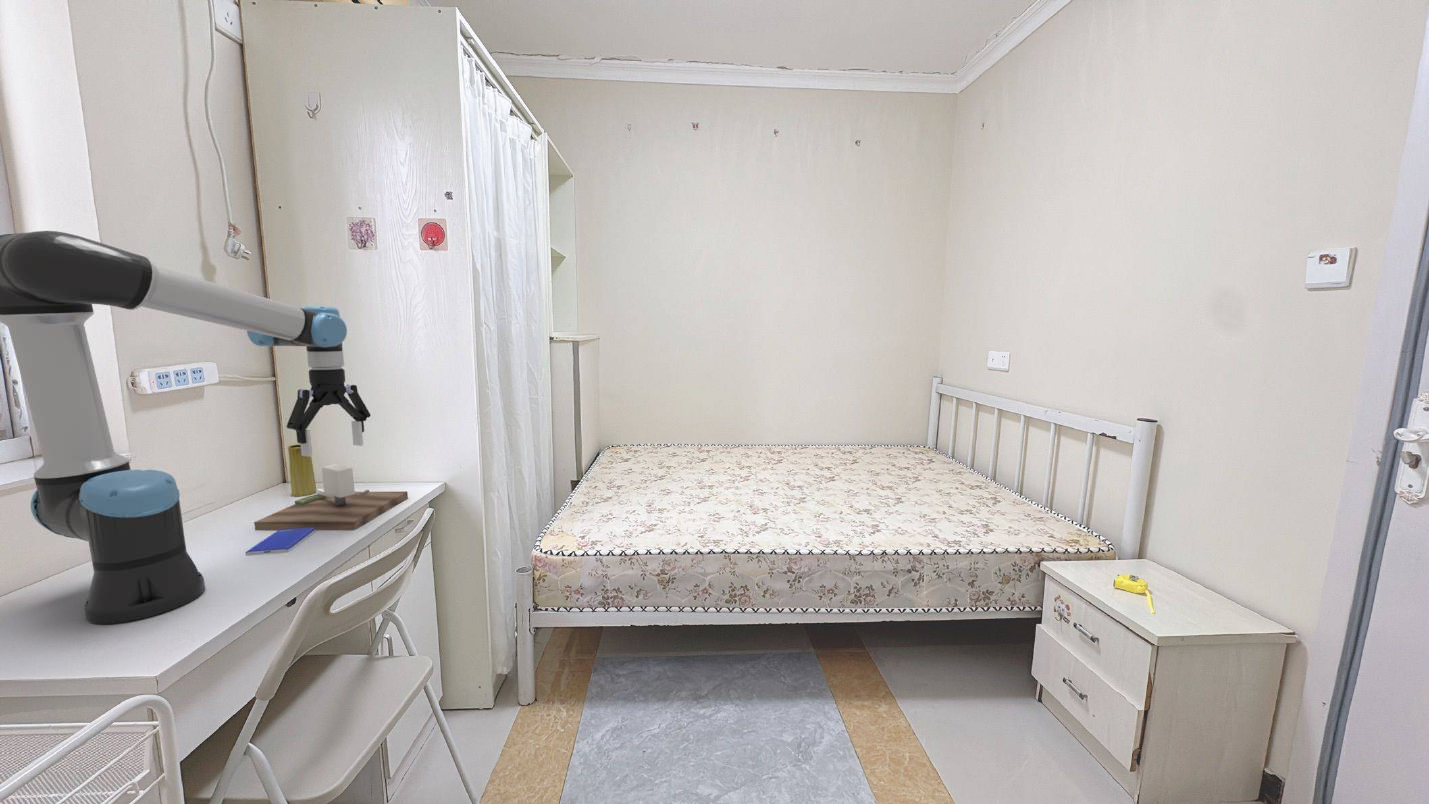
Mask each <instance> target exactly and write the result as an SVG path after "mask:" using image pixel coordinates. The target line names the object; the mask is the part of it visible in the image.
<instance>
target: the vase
mask: <svg viewBox="0 0 1429 804" xmlns="http://www.w3.org/2000/svg"><path fill="white" fill-rule="evenodd" d="M287 451H288V457H289V459H288V460H289V477H290V478H289V479H290V489H291V493H290V495H291V496H292V497H306V496H309V495H310V496H311V495H312V494H313V495H314V494H316V489H317V484H316V479H315V471H314V467H313V466H314V465H313V458H312V456H310V457H308V456H302V454H301V444H300V443H296V444H291V445H289V446H287Z"/></svg>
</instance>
